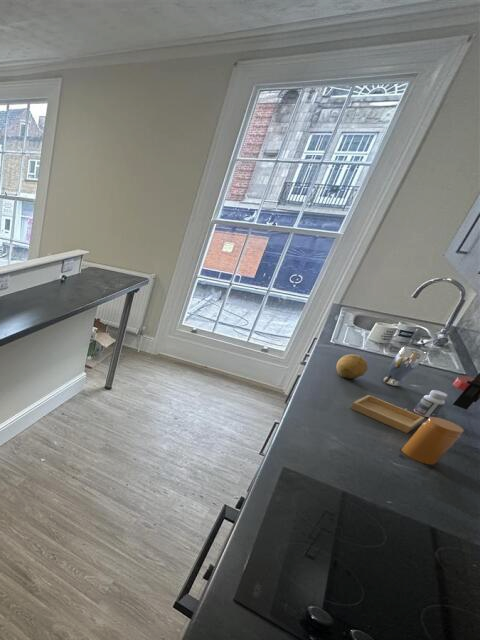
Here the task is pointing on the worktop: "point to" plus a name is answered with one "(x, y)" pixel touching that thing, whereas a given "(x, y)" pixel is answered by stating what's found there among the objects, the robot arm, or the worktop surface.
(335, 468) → the worktop surface
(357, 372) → the potato
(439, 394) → the pill bottle
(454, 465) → the worktop surface
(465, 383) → the lid
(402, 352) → the beer glass
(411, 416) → the tray
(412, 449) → the jam jar
